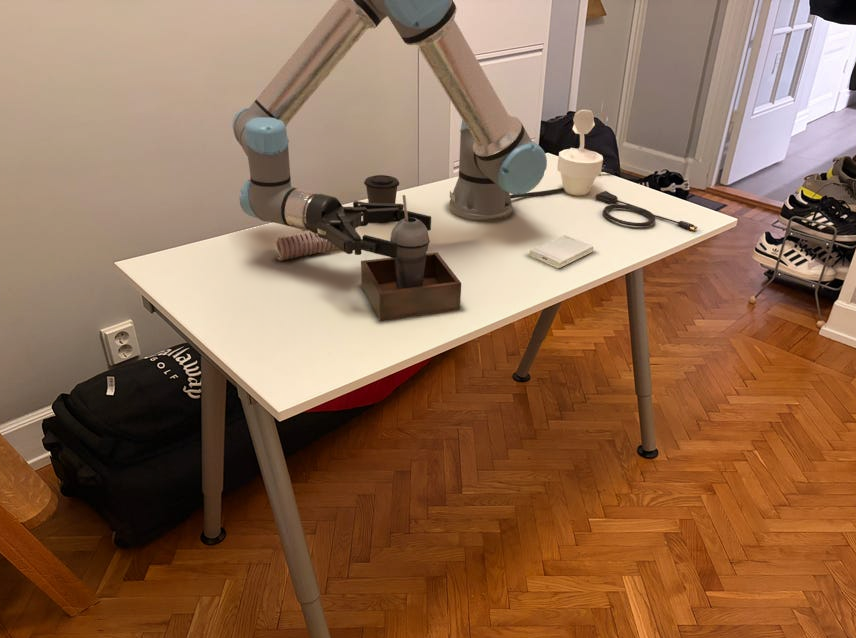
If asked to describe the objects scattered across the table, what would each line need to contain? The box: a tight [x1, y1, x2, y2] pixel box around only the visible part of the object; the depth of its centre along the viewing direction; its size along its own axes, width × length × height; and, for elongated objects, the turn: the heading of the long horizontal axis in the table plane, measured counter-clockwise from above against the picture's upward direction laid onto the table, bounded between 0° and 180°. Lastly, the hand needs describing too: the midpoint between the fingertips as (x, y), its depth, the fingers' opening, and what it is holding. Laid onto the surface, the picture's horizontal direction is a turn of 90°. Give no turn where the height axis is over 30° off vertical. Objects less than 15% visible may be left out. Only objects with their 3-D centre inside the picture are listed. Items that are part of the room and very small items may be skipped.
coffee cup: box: [363, 174, 400, 225], centre depth 166 cm, size 8×8×10 cm
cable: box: [595, 190, 698, 231], centre depth 178 cm, size 14×28×2 cm, turn 44°
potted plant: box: [556, 102, 609, 197], centre depth 185 cm, size 13×12×25 cm
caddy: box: [360, 251, 462, 322], centre depth 137 cm, size 16×14×6 cm
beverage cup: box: [389, 194, 431, 289], centre depth 133 cm, size 7×7×20 cm
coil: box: [275, 228, 357, 262], centre depth 152 cm, size 5×5×18 cm
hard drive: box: [529, 234, 594, 269], centre depth 158 cm, size 2×8×12 cm
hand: (414, 236), depth 131 cm, fingers open, 13 cm apart
